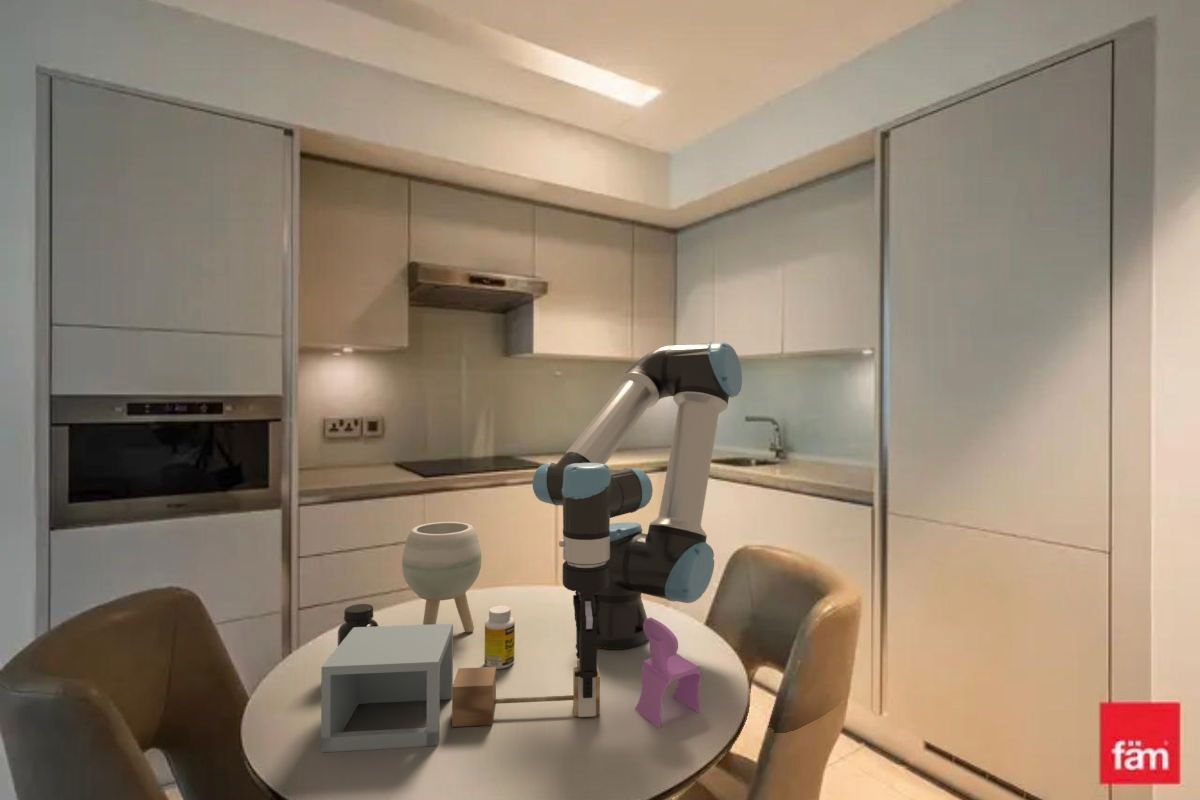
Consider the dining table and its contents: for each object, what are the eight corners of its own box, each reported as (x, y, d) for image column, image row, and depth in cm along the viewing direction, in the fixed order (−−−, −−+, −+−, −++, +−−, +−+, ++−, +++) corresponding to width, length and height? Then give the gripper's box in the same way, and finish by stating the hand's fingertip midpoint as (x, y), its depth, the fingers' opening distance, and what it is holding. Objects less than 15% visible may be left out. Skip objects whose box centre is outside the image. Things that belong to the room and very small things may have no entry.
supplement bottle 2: (507, 672, 104) (507, 615, 104) (479, 668, 106) (479, 613, 106) (519, 658, 110) (519, 605, 110) (492, 655, 111) (492, 602, 111)
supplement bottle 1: (363, 686, 99) (363, 616, 99) (328, 682, 100) (328, 613, 100) (386, 667, 106) (386, 602, 106) (352, 664, 107) (353, 600, 107)
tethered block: (597, 699, 94) (597, 662, 94) (600, 719, 89) (600, 680, 88) (458, 705, 92) (458, 668, 92) (452, 726, 86) (452, 687, 86)
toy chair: (707, 714, 90) (707, 619, 90) (663, 731, 86) (664, 631, 86) (672, 691, 97) (673, 603, 97) (631, 706, 93) (631, 614, 93)
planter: (496, 629, 124) (497, 525, 124) (439, 657, 110) (439, 540, 110) (444, 613, 132) (445, 517, 132) (385, 638, 119) (385, 530, 119)
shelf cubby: (452, 695, 96) (453, 623, 96) (438, 745, 82) (438, 661, 82) (353, 700, 94) (353, 627, 94) (321, 752, 80) (321, 666, 80)
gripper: (560, 548, 99) (560, 683, 99) (564, 578, 83) (564, 740, 83) (604, 547, 100) (603, 681, 100) (616, 576, 83) (615, 737, 83)
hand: (585, 707), depth 91 cm, fingers closed on tethered block, 3 cm apart
